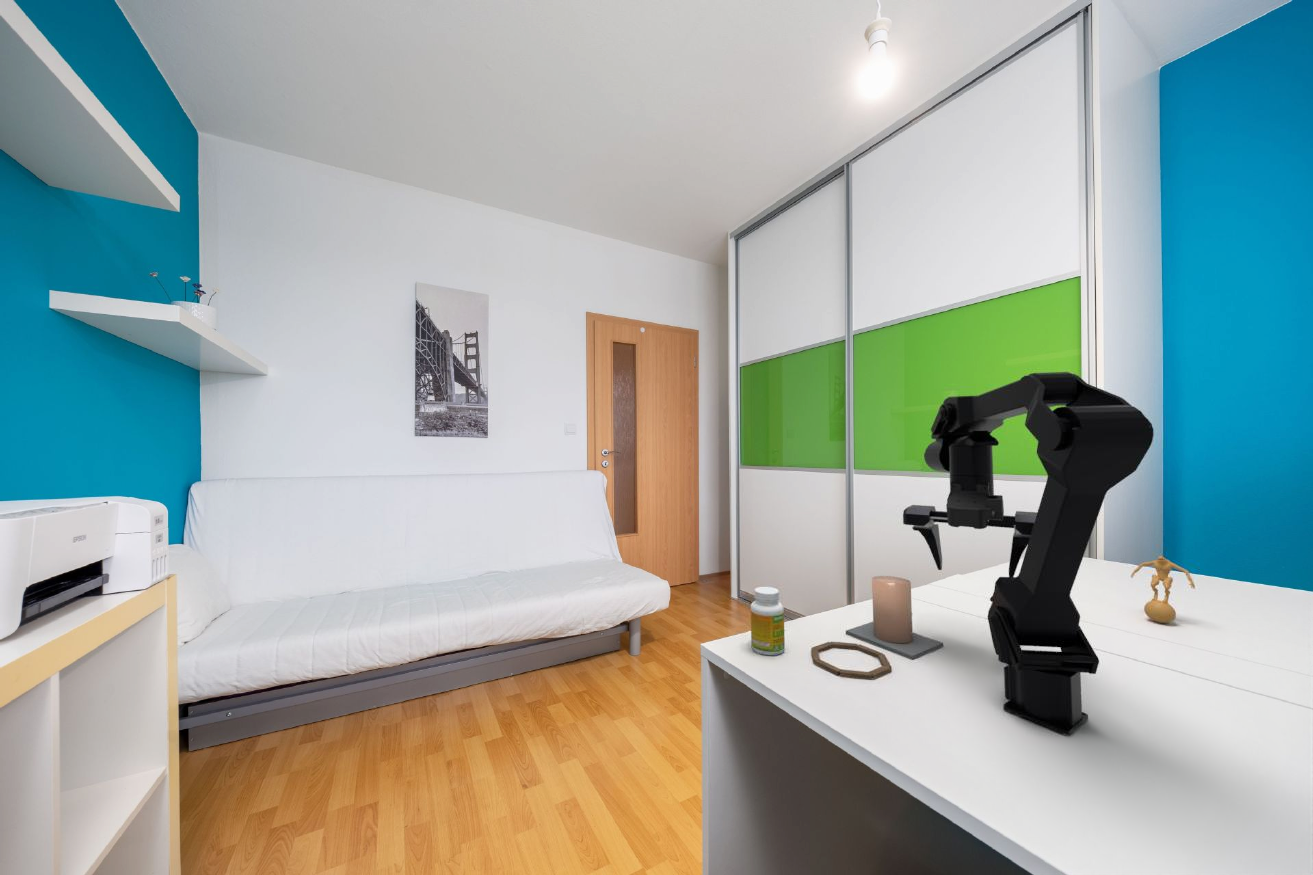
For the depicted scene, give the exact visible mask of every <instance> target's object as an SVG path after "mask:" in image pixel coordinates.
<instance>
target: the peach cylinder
mask: <svg viewBox="0 0 1313 875" xmlns="http://www.w3.org/2000/svg"><path fill="white" fill-rule="evenodd" d="M911 584H912V582H911V581H910V580H909V579H906V578H905V577H904V578H903V577H898V576H891V575H877V576H873V577H872V578H871V593H872V596H871V597H872V622H873V629H874V636H875V637H877V638H879V639H881V640H884V641H887V642H892V643H909V642H911V641H912V640H913V633H914V631H913V610H912V608H913V606H912V585H911Z"/></svg>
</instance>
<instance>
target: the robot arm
mask: <svg viewBox="0 0 1313 875" xmlns="http://www.w3.org/2000/svg"><path fill="white" fill-rule="evenodd" d="M1059 406H1060V407H1059ZM1053 407H1056V408H1054V409H1053V410H1052V409H1051V408H1053ZM1022 415H1026V418H1025V423H1024V426H1025V428H1027V430H1028V431H1029V433H1031V435H1033V438H1034V439H1035V440H1036V441H1037V447H1036V455H1037V457H1038V459H1039V460H1040V462H1041V465H1042V466H1043V468H1044V470H1045V472H1046V474H1047V479H1046V482H1045V484H1044V485H1045V486H1044V489H1043V493H1042V496H1041V500H1040V502H1039V506H1038V509H1037V512H1035V511H1020V510H1016V512H1015V514H1014V515H1005V514H1004V512H1005V511H1004V508H1005V507H1004V498H1003V495H1001V494H999V495H997V494H996V495H995V488H994V484H995V482H994V463H993V460H994V459H993V447H997V446H999V444H1000V443H999V441H998V439H997V438H996V437H994V436H993V435H992V432H993V431H995V430H996V429H998V428H1000V427H1002V426H1003V425H1004V421H1005V420H1006V419H1011V418H1014V417H1018V416H1022ZM935 416H936V417H935V418H934V421H933V423H932V426H931V428H930V431H931V434H930V435H931V439H932V440H935V441H932V442H931V443H930V444H928V445H927V447H926V448H925V452H924V454H923V457H924V461H925V463H926V465H927V467H929V468H930V469H932V470H933V471H936V472H942V473H949V494H948V496H947V500H946V506H945V507H946V511H941V510H940V511H939V510H936V507H935V505H919V504H917V505H916V504H912V505H910V506H907V507H906V508H905V509H904V510H903V514H902V520H903V521H902V522H903V525H906V526H912V527H911V528H912V530H913V531H917V532H919V533H920V535H921V536H922V537H923V539H924V540H925V541H926V544H927V546H928V548H929V550H930V552H931V556H932V557H933V560H934V563H935V565H936V567H937V569H938V571H942V570H943V554H942V546H941V538H940V530H939V529H940V528H939V524H938V523H942V524H947V525H948V526H950V527H952V528H959V527H965V528H973V529H975V530H976V529H977V530H984V529H986V528H987V527H995V528H1006V529H1007V528H1008V529H1013V530H1014V531H1013V535H1012V541H1011V551H1010V556H1009V558H1010V559H1009V566H1008V576H999V577H998V578H997V579H996V581H995V583H994V590H993V593H992V595H991V597H990V598H989V601H990V602H991V605H990V607H989V609H988V612H987V621H988V625H989V626H988V628H989V631H990V635H991V640H992V646H993V649H994V652H995V654H996V655H997V656H998V661H999V662H1000V663H1002V664H1005V665H1006V666H1004V667H1003V679H1004V680H1003V681H1004V685H1003V686H1004V698H1005V699H1006V700H1007V702H1005V703H1003V705H1002V707H1003V709H1004V711H1006V712H1009V713H1012V714H1015V715H1017V716H1019V717H1022V718H1024V719H1027V720H1029V721H1032V722H1034V723H1036V724H1038V725H1041V726H1044V727H1046V728H1048V729H1050V730H1053V731H1056V732H1058V733H1060V734H1064V735H1067V736H1068V735H1071V734H1072V733H1073V732H1075V731H1076V730H1077V729H1078V728H1079V727H1081V726H1082V725H1083V724H1084V723H1085V722H1087V721H1088V720H1089V714H1087V713H1086V712H1083V706H1082V705H1083V704H1082V682H1081V680H1082V676H1081V673H1085V674H1089V675H1090V674H1091V675H1096V673H1097V671H1098V667H1099V664H1100V660H1099V656H1098V655H1097V654H1096V652H1095V650H1094V648H1093V647H1092V645H1091V644H1090V641H1089V639H1088V638H1087V636H1086V635H1085V633H1084V631H1083V629H1082V628H1081V626H1080V621H1081V615H1080V612H1079V610H1078V609H1077V607H1076V605H1075V603H1074V602H1073V599H1072V597H1071V592H1072V589H1073V586H1074V584H1075V581H1076V578H1077V576H1078V573H1079V570H1080V567H1081V565H1082V564H1081V563H1082V561H1083V558H1084V556H1085V553H1086V550H1087V548H1088V545H1089V542H1090V539H1091V537H1092V533H1093V532H1094V531H1093V530H1094V528H1095V525H1096V522H1097V521H1098V520H1097V519H1098V517H1099V515H1100V511H1101V509H1102V507H1103V506H1102V505H1103V503H1104V500H1105V498H1106V494H1107V492H1108V491H1109V490H1110V489H1112V488H1113V487H1115V486H1116V485H1118V484H1119V483H1121V482H1122V481H1124V480H1125V479H1126V478H1127V477H1129V476H1130V475H1132V474H1133V473H1135V472H1137V470H1138V468H1139V466H1140V464H1141V463H1142V461H1143V459H1144V458H1145V456H1146V454H1147V452H1148V451H1149V449H1150V447H1151V445H1152V444H1153V441H1154V436H1155V435H1154V434H1155V433H1154V432H1155V430H1154V427H1153V424H1152V423H1151V421H1150V420H1149V419H1148V418H1147V416H1146V415H1145V414H1144V413H1143V412H1142V411H1141V410H1140V409H1139V408H1137V407H1135V406H1133V405H1132V404H1131V403H1130V402H1128V401H1127V400H1125V399H1124V398H1123V397H1121V396H1119V395H1116V394H1113V393H1112V392H1109V391H1107V390H1104V389H1102V388H1100V387H1099V388H1098V387H1096V386H1094V385H1091V384H1089V383H1087V382H1086V381H1085V380H1084V379H1082V377H1080V376H1079V375H1077V374H1075V373H1071V372H1069V371H1058V372H1057V371H1056V372H1055V371H1053V372H1051V371H1050V372H1031V373H1029V374H1027V375H1023V376H1022V377H1021V378H1020V379H1019V380H1016V381H1015V380H1014V381H1013V382H1010V383H1008V384H1004V385H1003V386H1000V387H997V388H995V389H992V390H989V391H986V392H983V393H981V394H978V395H957V396H947V397H946V398H945V399H944V401H943V402H942V404H941V405H940V406H939V408H938V412H937V413H936V415H935ZM1024 551H1025V553H1024ZM1023 554H1024V557H1023V559H1022V560H1023V561H1022V563H1021V567H1020V570H1019V573H1018V575H1017V576H1016V577H1015V574H1016V570H1017V568H1018V565H1019V564H1020V559H1021V557H1022V555H1023ZM1022 646H1023V647H1025V646H1026V647H1039V648H1040V647H1042V648H1043V647H1044V648H1060V651H1056V650H1055V651H1053V650H1033V649H1032V650H1031V649H1030V650H1029V649H1022Z"/></svg>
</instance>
